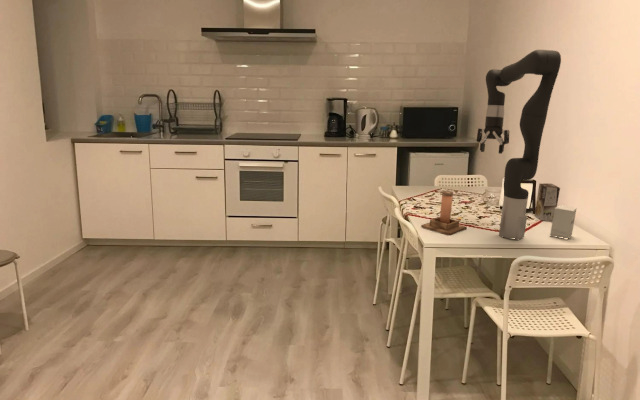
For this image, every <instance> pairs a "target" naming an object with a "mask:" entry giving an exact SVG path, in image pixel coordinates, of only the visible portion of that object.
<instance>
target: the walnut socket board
mask: <svg viewBox="0 0 640 400" xmlns="http://www.w3.org/2000/svg"><path fill="white" fill-rule="evenodd" d="M439 221H440V216H438V217H435V218H431V219H430V220H429V222H426V223H423V224H421V225H420V228H421V229H426V230H429V231H432V232H435V233H439V234H443V235H446V236H452V235H454V234H457V233H460V232H463V231H465V230H467V228H468V227H467V226H466V225H465V226H464V225H462V224H460V220H456V219H453V218H450V223H449V224H445V223H442V222H439Z"/></svg>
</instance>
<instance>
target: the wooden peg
mask: <svg viewBox="0 0 640 400" xmlns="http://www.w3.org/2000/svg"><path fill="white" fill-rule="evenodd" d="M453 197H454V191H452V190H442V191H441V204H440V213H439V214H440V215H439V217H440V221H439V222H442V223H445V224H449V223H450V219H451V216H452V208H453V207H452V205H453Z"/></svg>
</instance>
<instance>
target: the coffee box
mask: <svg viewBox="0 0 640 400" xmlns="http://www.w3.org/2000/svg"><path fill="white" fill-rule="evenodd" d="M560 190H561V187H560V186H557V185H555V184H553V183H540V182H539V183H538V190H537V197H536V204H535V211H534V216H535V217H537V218H538V219H539V220H540V221H542V222H543V221H544V222H553V216H554V210H555V208H556V207H557V206H558V201H559V195H560Z"/></svg>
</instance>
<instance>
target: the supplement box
mask: <svg viewBox="0 0 640 400" xmlns="http://www.w3.org/2000/svg"><path fill="white" fill-rule="evenodd" d="M576 213H577V207H574V206H568V205H562V204H561V205H560V204H559V205H558V204H557V207H556V208H555V210H554V216H553V221H551V228H550V235H551V236H550V237H552V236H557V237H563V238H569V237H570V236H571V235H572V236H573V232H574V231H573V230H574V224H575V219H576ZM572 236H571V237H572ZM571 237H570V238H571ZM570 238H569V239H570Z"/></svg>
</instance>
